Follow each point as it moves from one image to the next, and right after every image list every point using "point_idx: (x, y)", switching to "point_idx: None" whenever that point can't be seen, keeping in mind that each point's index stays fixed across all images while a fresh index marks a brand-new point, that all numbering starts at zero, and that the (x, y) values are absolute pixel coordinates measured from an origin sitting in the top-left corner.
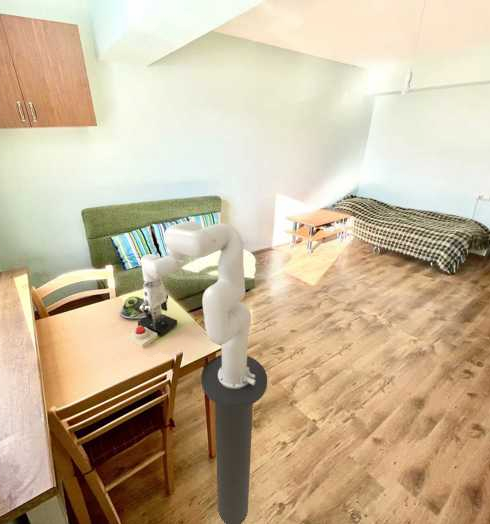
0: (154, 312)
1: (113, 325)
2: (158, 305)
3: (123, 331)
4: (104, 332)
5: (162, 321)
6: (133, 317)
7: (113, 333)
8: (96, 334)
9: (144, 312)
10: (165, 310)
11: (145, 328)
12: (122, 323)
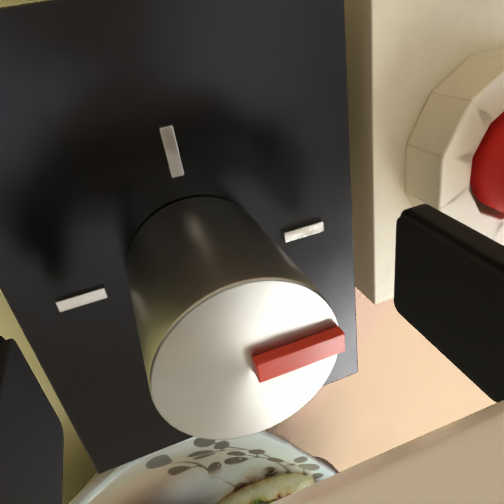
0: (300, 359)
1: (373, 449)
2: (483, 438)
3: (381, 361)
4: (445, 408)
5: (146, 202)
6: (300, 461)
7: (427, 374)
8: (476, 411)
9: (168, 498)
10: (15, 350)
11: (459, 170)
12: (326, 446)
